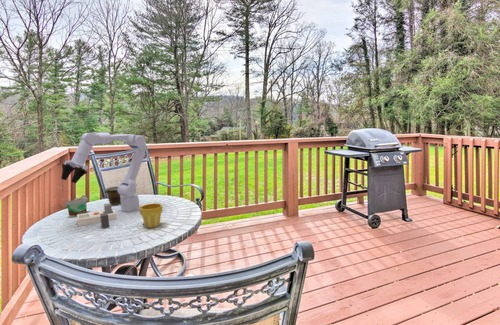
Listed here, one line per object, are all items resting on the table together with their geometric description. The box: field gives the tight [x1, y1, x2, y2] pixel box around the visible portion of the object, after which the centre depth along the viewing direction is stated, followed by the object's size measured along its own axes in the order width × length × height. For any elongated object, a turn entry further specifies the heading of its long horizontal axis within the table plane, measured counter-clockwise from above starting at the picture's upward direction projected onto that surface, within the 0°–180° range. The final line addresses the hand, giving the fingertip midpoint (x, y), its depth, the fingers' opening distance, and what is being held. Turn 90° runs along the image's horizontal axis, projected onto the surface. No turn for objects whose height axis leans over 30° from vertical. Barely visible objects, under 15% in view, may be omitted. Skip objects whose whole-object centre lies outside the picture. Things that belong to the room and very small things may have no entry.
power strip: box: [76, 208, 117, 227], centre depth 148 cm, size 17×10×5 cm, turn 122°
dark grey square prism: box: [100, 213, 110, 229], centre depth 138 cm, size 3×4×7 cm
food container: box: [65, 194, 89, 218], centre depth 158 cm, size 12×6×10 cm, turn 168°
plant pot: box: [139, 202, 163, 228], centre depth 141 cm, size 10×10×10 cm
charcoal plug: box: [103, 202, 113, 214], centre depth 151 cm, size 3×4×7 cm
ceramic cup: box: [101, 186, 121, 206], centre depth 178 cm, size 13×10×10 cm
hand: (68, 181), depth 138 cm, fingers open, 7 cm apart
